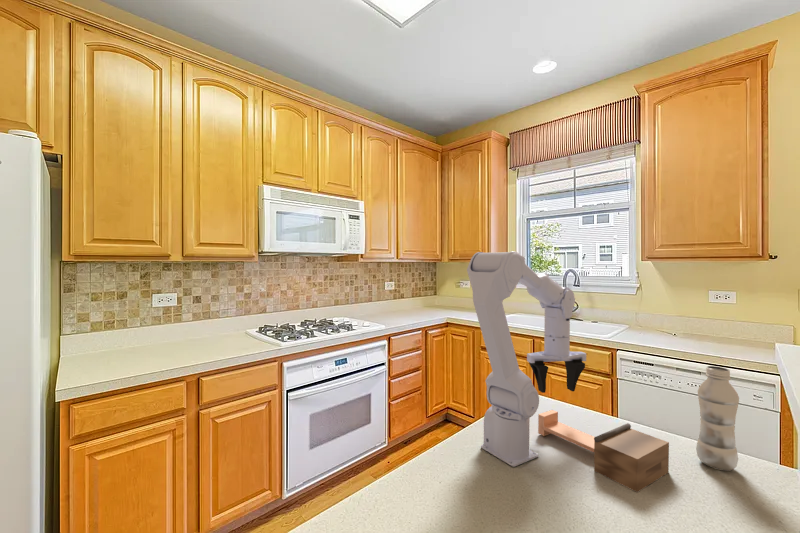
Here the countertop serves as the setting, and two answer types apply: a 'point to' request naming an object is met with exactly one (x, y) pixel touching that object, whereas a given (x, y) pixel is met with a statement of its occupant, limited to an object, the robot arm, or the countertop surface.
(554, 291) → the robot arm
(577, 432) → the peach l-shaped bracket
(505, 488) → the countertop surface
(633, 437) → the dispenser
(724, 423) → the plastic bottle
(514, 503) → the countertop surface
